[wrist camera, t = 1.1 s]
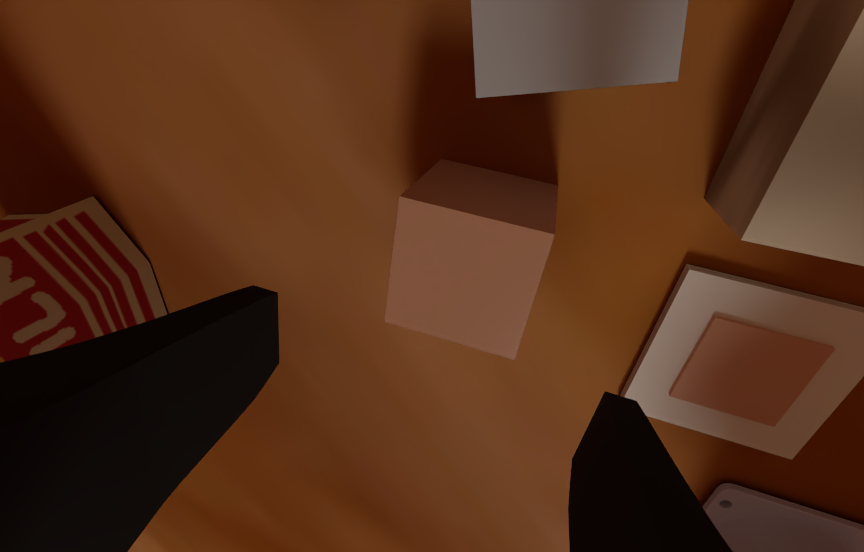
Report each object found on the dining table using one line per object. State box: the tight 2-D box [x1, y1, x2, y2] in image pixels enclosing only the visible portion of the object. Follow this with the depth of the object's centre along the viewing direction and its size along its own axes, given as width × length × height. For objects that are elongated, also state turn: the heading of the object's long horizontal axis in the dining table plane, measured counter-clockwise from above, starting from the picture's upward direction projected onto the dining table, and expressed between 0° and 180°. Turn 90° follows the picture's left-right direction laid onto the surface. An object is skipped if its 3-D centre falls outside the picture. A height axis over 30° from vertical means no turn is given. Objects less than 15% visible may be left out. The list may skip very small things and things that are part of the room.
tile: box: [620, 264, 864, 460], centre depth 17 cm, size 7×7×1 cm
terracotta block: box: [384, 159, 558, 360], centre depth 16 cm, size 4×4×5 cm
